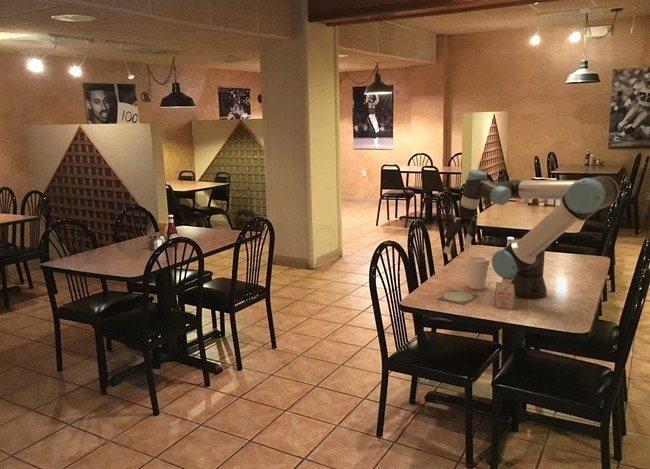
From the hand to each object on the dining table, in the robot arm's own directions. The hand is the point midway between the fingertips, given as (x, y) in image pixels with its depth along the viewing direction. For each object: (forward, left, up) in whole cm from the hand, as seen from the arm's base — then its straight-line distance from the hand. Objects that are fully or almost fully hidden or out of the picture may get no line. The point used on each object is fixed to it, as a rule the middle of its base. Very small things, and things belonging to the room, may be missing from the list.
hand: (456, 250), depth 250 cm
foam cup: (-8, -5, -17) cm, 19 cm away
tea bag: (-28, +13, -17) cm, 35 cm away
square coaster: (-8, +13, -17) cm, 22 cm away
